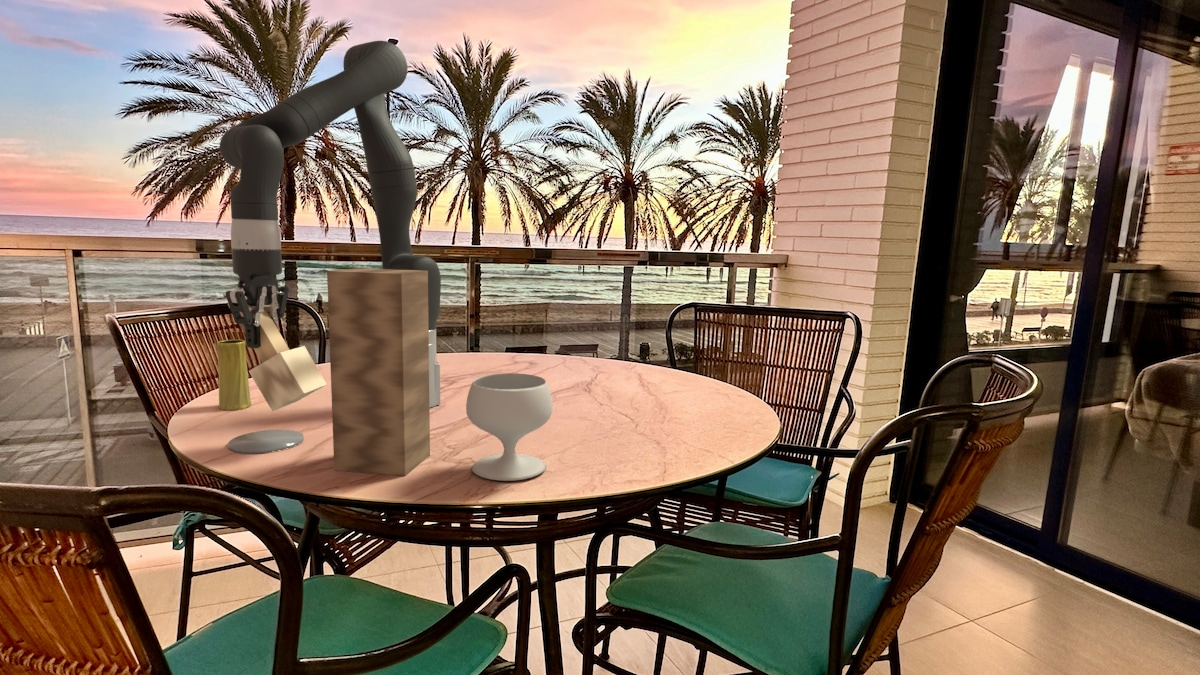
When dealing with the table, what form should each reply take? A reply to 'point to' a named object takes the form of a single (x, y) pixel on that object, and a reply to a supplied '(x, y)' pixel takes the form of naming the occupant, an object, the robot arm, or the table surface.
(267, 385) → the mallet
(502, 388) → the chalice
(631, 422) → the table surface
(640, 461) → the table surface
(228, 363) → the vase
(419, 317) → the herringbone wood pillar
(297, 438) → the grey flat disc
